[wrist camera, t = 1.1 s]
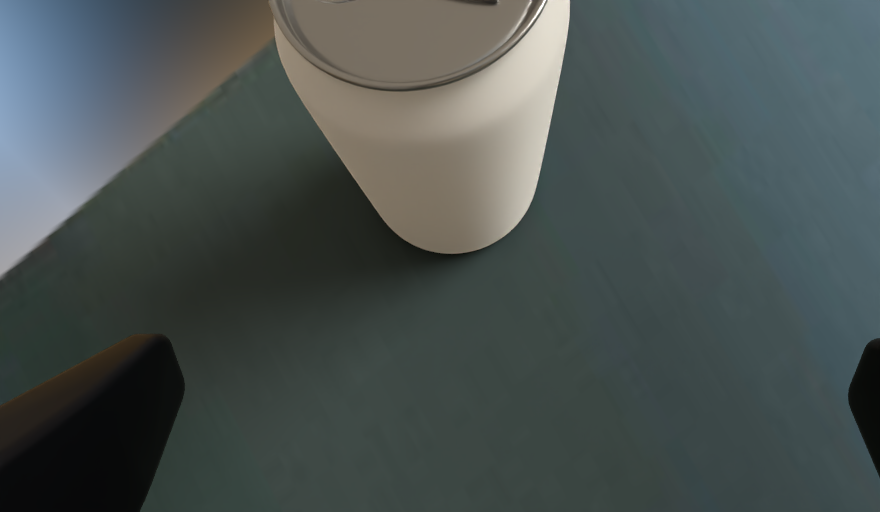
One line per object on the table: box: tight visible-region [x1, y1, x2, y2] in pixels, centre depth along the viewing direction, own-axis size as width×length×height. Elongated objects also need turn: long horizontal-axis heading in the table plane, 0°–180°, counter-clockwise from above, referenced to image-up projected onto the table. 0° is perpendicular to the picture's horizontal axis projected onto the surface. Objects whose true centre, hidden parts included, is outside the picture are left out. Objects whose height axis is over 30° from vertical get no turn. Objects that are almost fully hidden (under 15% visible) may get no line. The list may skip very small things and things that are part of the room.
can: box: [268, 0, 570, 254], centre depth 17 cm, size 6×6×12 cm
